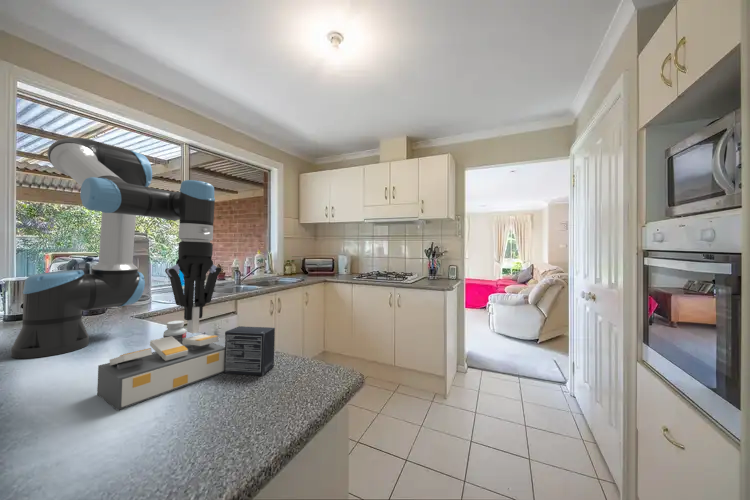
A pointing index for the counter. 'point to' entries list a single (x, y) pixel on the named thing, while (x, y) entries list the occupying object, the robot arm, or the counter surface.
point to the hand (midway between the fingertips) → (192, 331)
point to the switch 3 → (200, 340)
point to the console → (157, 374)
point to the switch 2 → (168, 348)
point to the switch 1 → (130, 356)
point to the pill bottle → (176, 331)
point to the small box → (249, 350)
